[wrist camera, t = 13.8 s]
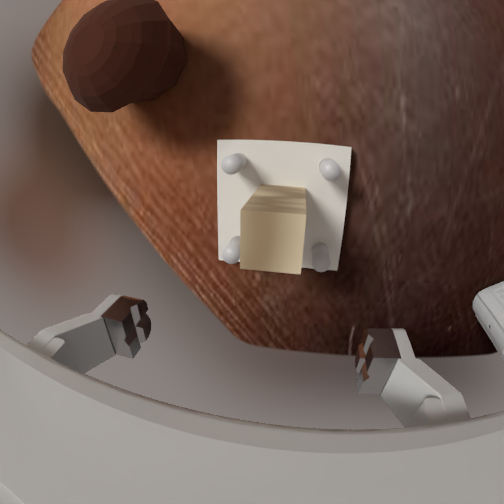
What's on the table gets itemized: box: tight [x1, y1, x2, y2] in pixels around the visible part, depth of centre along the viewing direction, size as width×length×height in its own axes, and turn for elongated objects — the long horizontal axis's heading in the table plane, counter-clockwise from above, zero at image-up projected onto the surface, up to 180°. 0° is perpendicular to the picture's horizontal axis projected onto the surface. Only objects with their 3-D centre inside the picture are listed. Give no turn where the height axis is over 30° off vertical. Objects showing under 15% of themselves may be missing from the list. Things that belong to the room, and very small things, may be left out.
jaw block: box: [240, 184, 306, 274], centre depth 22 cm, size 4×4×9 cm
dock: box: [217, 140, 352, 272], centre depth 25 cm, size 12×12×4 cm
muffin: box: [63, 0, 187, 112], centre depth 19 cm, size 12×11×10 cm
